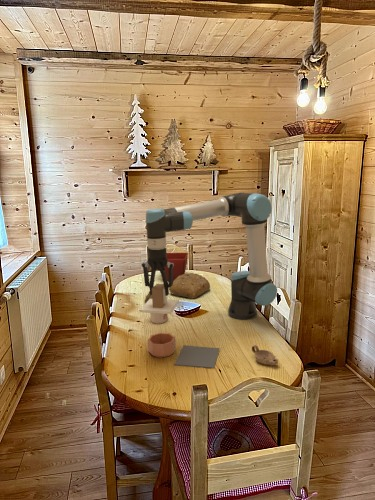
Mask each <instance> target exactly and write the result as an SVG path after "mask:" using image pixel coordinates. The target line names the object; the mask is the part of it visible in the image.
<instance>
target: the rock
mask: <svg viewBox="0 0 375 500" xmlns="http://www.w3.org/2000/svg"><path fill="white" fill-rule="evenodd" d="M149 299H152V295H150V290H149V291H148V293H147V295H145V299H144V305H145V304H146V303H147V301H148V300H149Z"/></svg>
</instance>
